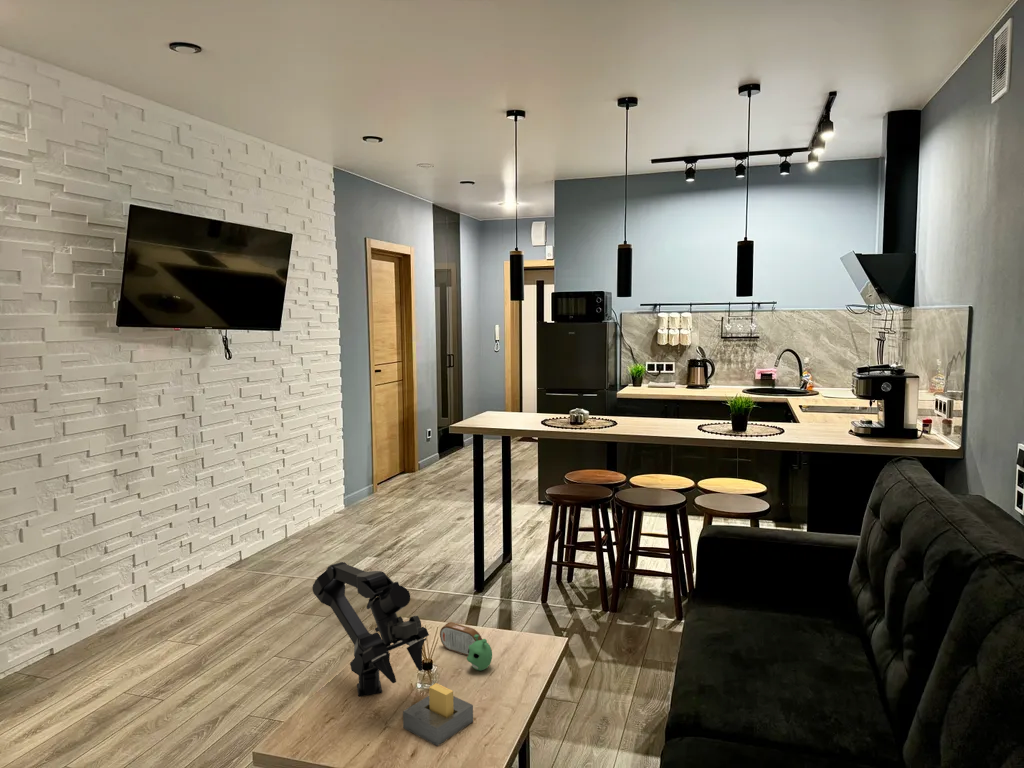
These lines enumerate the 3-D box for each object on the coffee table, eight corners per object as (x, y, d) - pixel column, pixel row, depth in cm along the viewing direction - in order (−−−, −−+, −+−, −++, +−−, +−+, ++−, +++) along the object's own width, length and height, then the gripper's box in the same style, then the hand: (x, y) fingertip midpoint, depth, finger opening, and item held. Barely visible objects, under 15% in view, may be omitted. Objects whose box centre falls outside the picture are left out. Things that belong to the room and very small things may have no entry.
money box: (403, 728, 177) (402, 711, 177) (439, 705, 187) (439, 689, 187) (437, 746, 170) (436, 728, 169) (473, 721, 180) (472, 704, 179)
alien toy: (462, 668, 207) (461, 635, 206) (483, 660, 211) (483, 628, 210) (475, 678, 201) (474, 644, 200) (497, 670, 206) (496, 637, 205)
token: (429, 724, 179) (429, 687, 178) (436, 720, 180) (436, 683, 179) (446, 733, 175) (446, 695, 174) (453, 728, 177) (453, 690, 176)
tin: (483, 656, 214) (483, 629, 213) (477, 660, 211) (477, 633, 211) (444, 644, 222) (444, 618, 221) (438, 648, 219) (438, 622, 219)
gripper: (375, 618, 175) (398, 679, 170) (429, 599, 189) (452, 655, 184) (352, 632, 181) (373, 692, 176) (405, 613, 195) (427, 668, 191)
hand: (408, 676), depth 182 cm, fingers open, 9 cm apart
